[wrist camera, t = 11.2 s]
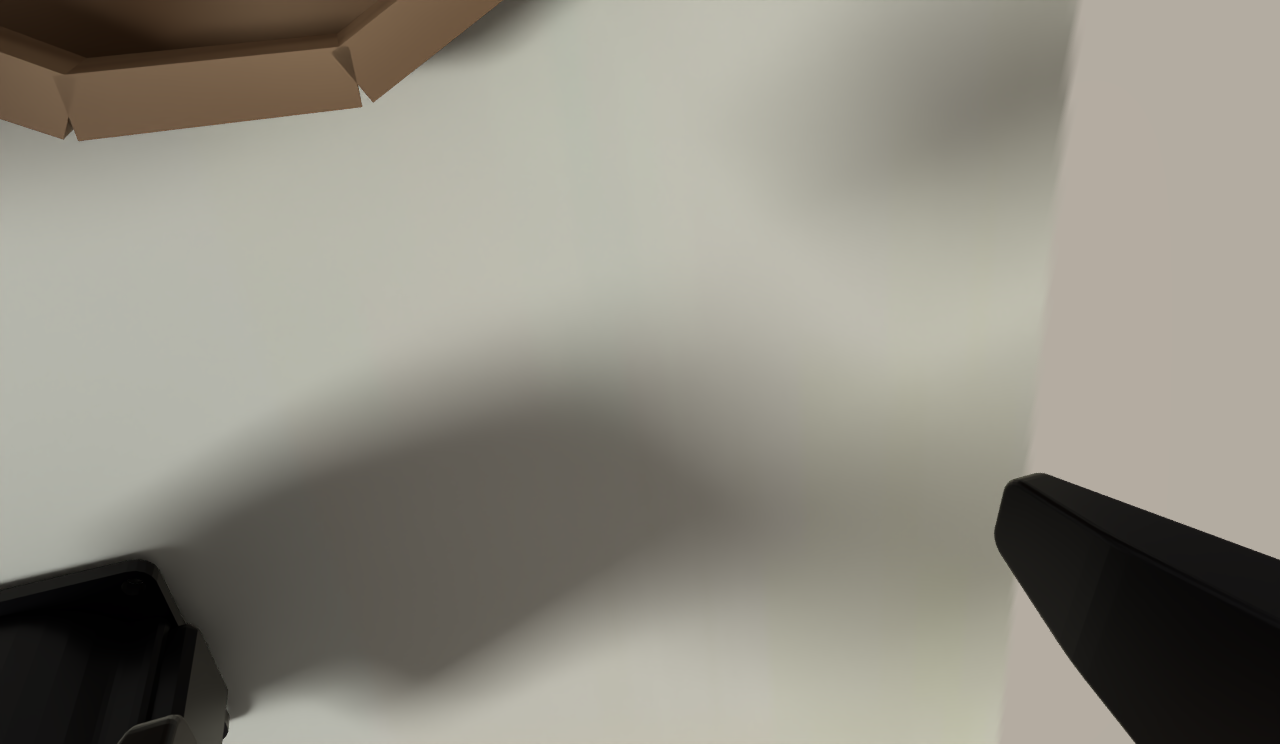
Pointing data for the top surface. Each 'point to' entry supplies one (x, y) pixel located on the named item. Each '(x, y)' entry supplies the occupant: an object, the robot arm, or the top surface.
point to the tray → (208, 59)
